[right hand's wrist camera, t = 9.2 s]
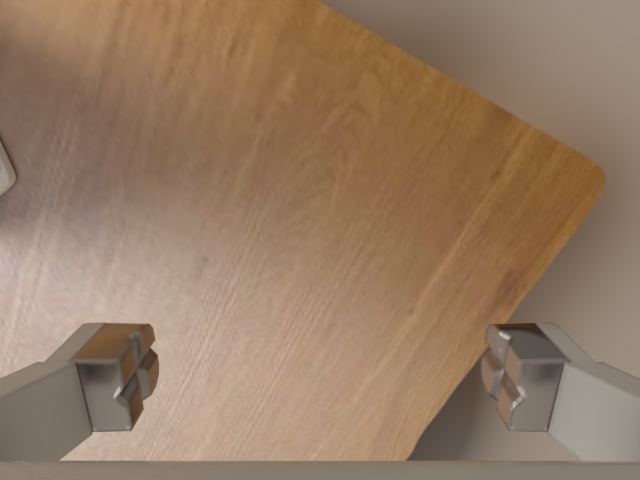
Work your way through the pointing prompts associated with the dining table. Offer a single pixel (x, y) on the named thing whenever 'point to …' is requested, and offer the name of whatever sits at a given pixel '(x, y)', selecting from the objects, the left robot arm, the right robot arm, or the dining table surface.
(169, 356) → the dining table surface
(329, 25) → the dining table surface
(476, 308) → the dining table surface
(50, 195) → the dining table surface
